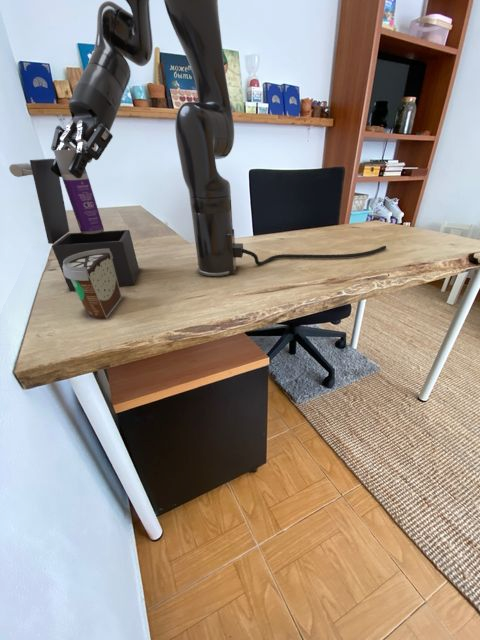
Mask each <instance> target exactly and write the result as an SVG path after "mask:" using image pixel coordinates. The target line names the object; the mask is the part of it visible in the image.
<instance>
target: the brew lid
mask: <svg viewBox="0 0 480 640" xmlns="http://www.w3.org/2000/svg"><path fill="white" fill-rule="evenodd" d="M54 160H55V158H41V159H29V162H30V163H28V162H24V163H15V164H13V163H12V164H10V165H9V168H8V169H9V172H10V173H11V175H12V176H14V177H16V178H20V177H27V176H32V177H33V181H34V185H35V186H34V187H35V190H36V194H37V200H38V203H39V209H40V213H41V216H42V223H43V225H44V230H45V231H44V232H45V235H46V240H47V243H48V244H49V245H54V244H55V243H56V242H58V241H59V240H60V239H62V238H63V237H64V236H66V235H67V234H68V233H70V227H69V221H68V217H67V211H66V205H65V200H64V194H63V189H62V184H61V177H59V176H57V175H56V174H55V173H54V172H52V170H51V167H52V164H53V162H54Z"/></svg>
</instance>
